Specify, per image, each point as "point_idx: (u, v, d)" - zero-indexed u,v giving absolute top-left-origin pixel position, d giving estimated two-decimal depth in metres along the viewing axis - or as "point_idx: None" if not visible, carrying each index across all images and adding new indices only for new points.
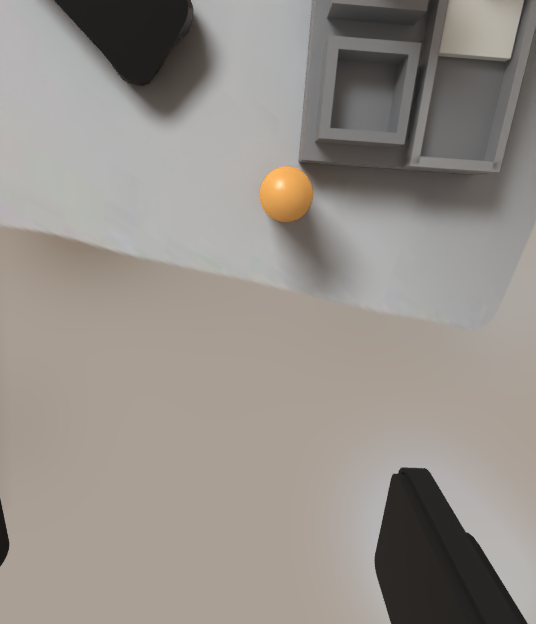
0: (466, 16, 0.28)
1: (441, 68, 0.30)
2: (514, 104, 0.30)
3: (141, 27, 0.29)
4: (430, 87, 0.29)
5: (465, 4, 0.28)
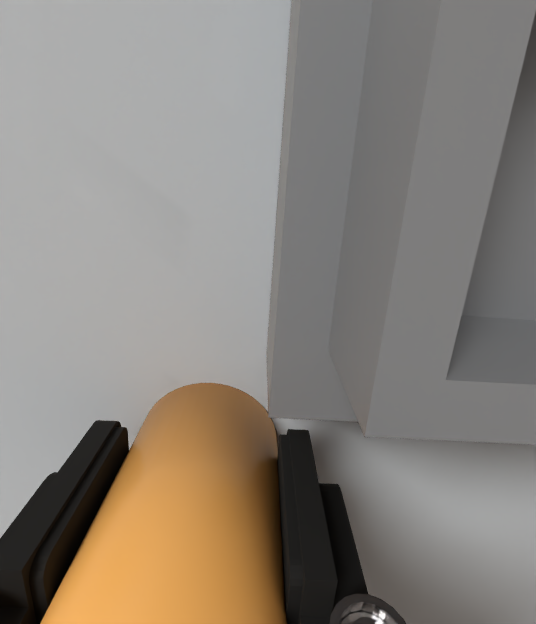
0: None
1: None
2: None
3: None
4: None
5: None
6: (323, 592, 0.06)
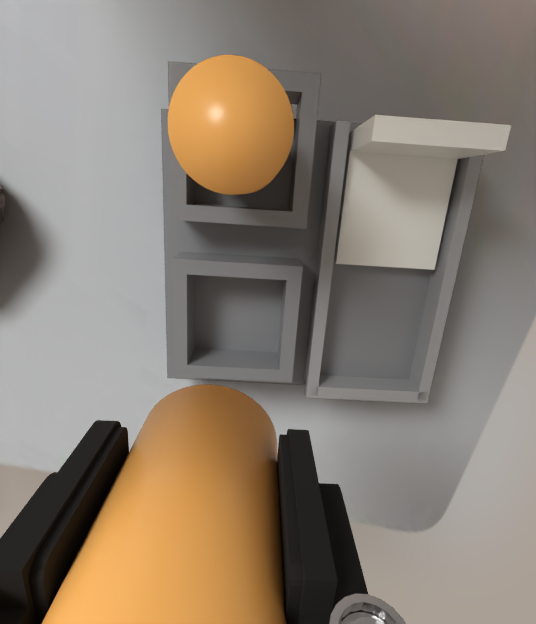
0: (369, 220, 0.20)
1: (343, 274, 0.22)
2: (441, 327, 0.22)
3: None
4: (324, 309, 0.21)
5: (367, 206, 0.20)
6: (323, 592, 0.06)
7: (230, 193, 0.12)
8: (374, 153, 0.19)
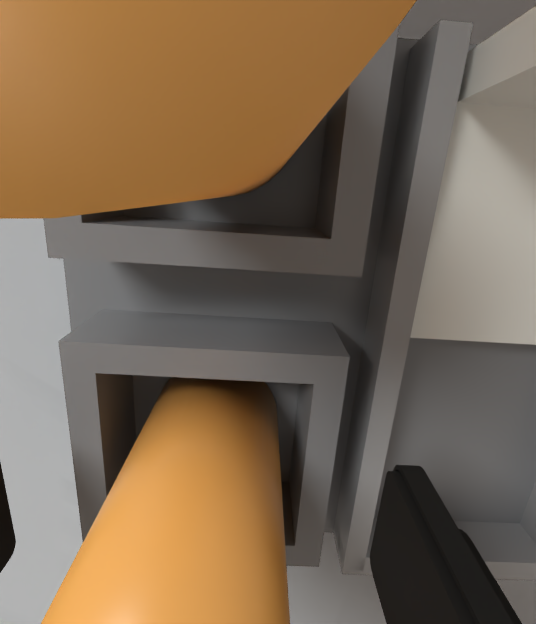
0: (485, 253, 0.10)
1: (417, 350, 0.12)
2: None
3: None
4: (386, 429, 0.11)
5: (485, 223, 0.10)
6: None
7: (3, 210, 0.02)
8: (512, 106, 0.09)
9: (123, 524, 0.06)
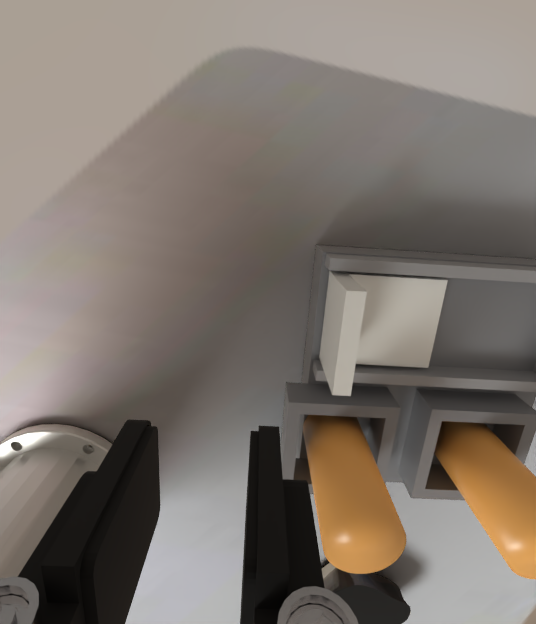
0: (394, 343, 0.23)
1: (436, 351, 0.24)
2: (513, 272, 0.21)
3: (368, 611, 0.32)
4: (471, 381, 0.23)
5: (381, 345, 0.23)
6: (275, 585, 0.06)
7: (404, 544, 0.18)
8: None
9: (473, 510, 0.21)
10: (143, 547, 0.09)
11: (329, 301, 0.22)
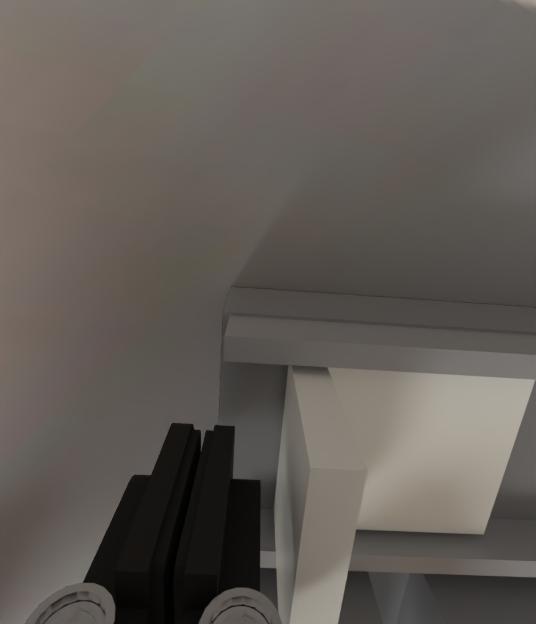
0: (418, 493, 0.12)
1: None
2: None
3: None
4: (525, 565, 0.12)
5: (394, 497, 0.12)
6: (204, 586, 0.06)
7: None
8: None
9: None
10: None
11: (286, 423, 0.10)
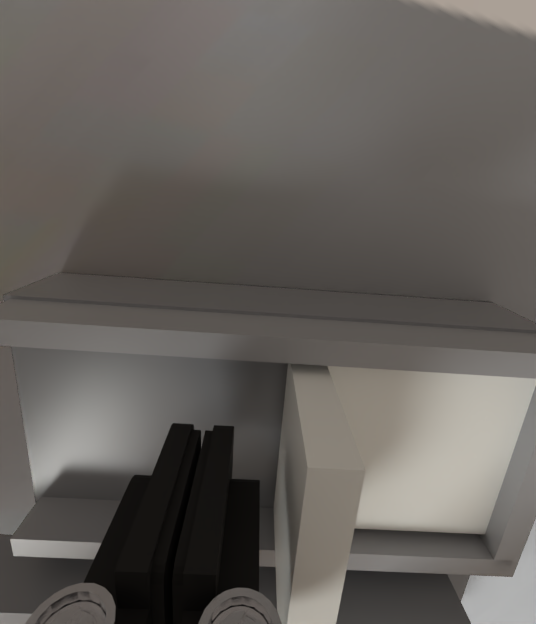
0: (419, 493, 0.12)
1: None
2: (399, 350, 0.09)
3: None
4: None
5: (394, 496, 0.12)
6: (203, 586, 0.06)
7: None
8: None
9: None
10: None
11: (286, 422, 0.10)
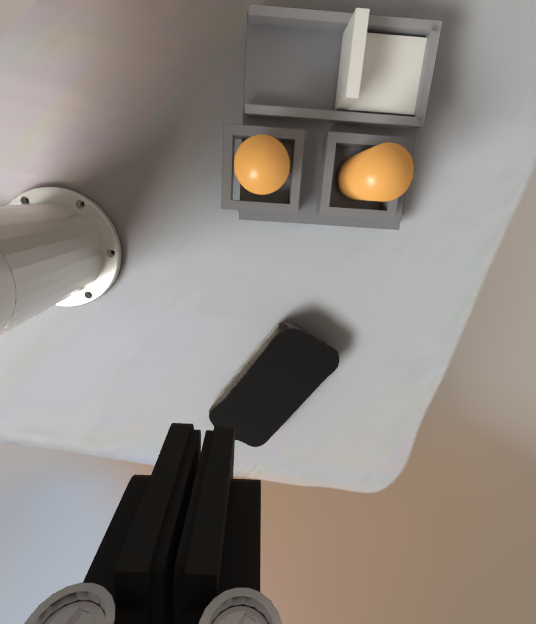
0: (388, 92, 0.32)
1: None
2: (379, 17, 0.30)
3: (305, 357, 0.41)
4: (358, 114, 0.32)
5: (380, 94, 0.32)
6: (204, 586, 0.06)
7: (289, 166, 0.26)
8: None
9: (350, 184, 0.29)
10: None
11: (342, 51, 0.31)
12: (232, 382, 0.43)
